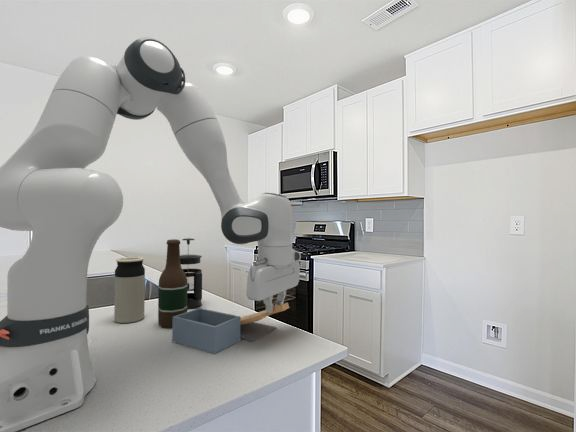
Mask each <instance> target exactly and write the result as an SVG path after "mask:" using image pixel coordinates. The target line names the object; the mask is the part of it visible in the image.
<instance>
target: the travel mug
mask: <svg viewBox="0 0 576 432" xmlns="http://www.w3.org/2000/svg"><path fill="white" fill-rule="evenodd" d="M144 260H145V258H144V257H140V256H130V257H129V256H125V257H119V258H116V259H115V262H116V265H117V266H116V268H115V270H114V312H113V314H114V319H113V320H114V322H116V323H119V324H131V323H132V324H133V323H136V322H139V321H141V320H143V319H144V318H145V297H146V296H145V292H146V291H145V290H146V289H145V287H146V284H145V279H146V269H145V267H144V265H143V264H144V263H143V262H144Z"/></svg>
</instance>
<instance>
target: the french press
mask: <svg viewBox="0 0 576 432" xmlns="http://www.w3.org/2000/svg"><path fill="white" fill-rule="evenodd" d="M195 240H196V239H195V238H190V237H187V238H183V239H181V241H186V245H187V254H180V263H181V265H182V266H183V265H185V266H186V265H187V268H182V269H183V271H184V272H185V274H186V277H187V311H188V310H195V309H198V308H201V307H202V305H203V303H202V299H203V270H202V269H200V268H189V265H196V264H200V263H201V258H202V257H203V256H202V255H198V254H190V244H191V241H195ZM189 278H193V283H192V284H191V283H189Z"/></svg>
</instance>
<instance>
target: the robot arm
mask: <svg viewBox="0 0 576 432" xmlns="http://www.w3.org/2000/svg"><path fill="white" fill-rule="evenodd" d="M156 110H157V111H159V112H160V114H162V115H163V116H164V118H166V120H167V121H168V123H169V126H170V128H171V130H172V134H173V135H174V138H175V140H176V141H177V143H178V145H179V147H180V148H181V149H180V150H182V152H183V153H184V155H185V156H186V158H187V159H188V161H189V162H190V163H191V165H193V166H194V168H195V169H196V170H197V171H198V172H199V173H200V174H201V176H203V178H204V179H205V181H206V182H207V184H208V185H209V188H210V189H211V192H212V194H213V196H214V198H215V200H216V201H215V202H216V203H217V204H218V207H219V209H220V213H221V222H220V223H221V225H220V227H221V232H222V235H223V236H224V238H225V239H226V240H228V241H229V242H231V243H232V244H235V245H246V244H249V243H253V242H257V260H254V261H253V262H252V264H251V266H249V267H250V268H249V271H248V274H247V281H246V291H245V294H246V295H245V296H246V298H247V299H248V300H250V301H253V302H255V301H256V302H260V301H263V304H264V305H265V310H266V312H267V313H272V312H274V311H275V309H274V308H275V306H277V305H281V304H284V303H285V302H284V301H285V298H286V296H287V290H290V289H292V288H294V287H297V286H298V285H299V282H300V277H301V276H300V273H301V272H300V271H301V270H300V269H301V266H300V260H301V258H302V255H301V252H300V251H297V250H295V249H293V241H292V231H293V209H292V203H291V201H290V200H289V198H288V197H286V196H285V195H282V194H279V193H275V192H274V193H273V192H264V193H261V194H260V195H259V196H258V197H256V198H254V199H251V200H249V201H248V202H247V201H246V202H245V203H244V202H243V200H242V198H241V197H240V195H239V191H238V190H237V188H236V186H235V183H234V181H233V179H232V176H231V174H230V170H229V164H228V157H227V155H228V153H227V145H226V140H225V137H224V134H223V130H222V128H221V126H220V122H219V121H218V119H217V116H216V114H215V111H214V110H213V109H212V106H211V105H210V103H209V101H208V99H207V98H206V96H205V95H204V93H203V92H202V91H201V89H200V88H199V87H198V86H197V85H196V84H193V83H192V82H188V81H187V82H186V73H185V70H184V69H183V68H182V67H181V64H180V62H179V60H178V59H177V57H176V55H175V54H174V53H173V52H172V50H171V49H170V48H169V47H168V46H167V45H165V44H164V43H163V42H161V41H160V40H157V39H155V38H153V37H149V36H145V37H144V36H143V37H139V38H136V40H134V41H132V42H131V43H130V44H129V45H128V46H127V48H126V49H125V51H124V54H123V56H122V57H121V58H120V61H119V62H118V64H117V65H116V64H114V65H112V64H108V63H107V62H106V61H104V60H102V59H100V58H97V57H95V56H89V55H83V56H78V57H76V58H74V59H73V60H71V61H70V63H69V64H68V65H67V66H66V68H65V69H64V70H63V72H62V73H61V74H60V76H59V77H58V79H57V80H56V82H55V85H54V86H53V88H52V91H51V93H50V95H49V98H48V100H47V102H46V104H45V106H44V108H43V111H42V113H41V115H40V117H39V120H38V121H37V123H36V125H35V127H34V128H33V130H32V132H31V133H30V135H28V137H27V139H25V141H24V142H23V143H22V144H21V145H20V146H19V147H18V148H17V149H16V151H15V152H14V153H13V154H12V155H11V156H10V157H8V159H7V160H6V161H5V162H4V163H3V164H2V165H1V166H0V228H2V229H6V230H11V231H17V232H19V231H20V232H33V233H32V237H31V240H30V243H29V246H28V248H27V250H26V251H25V253H24V255H23V256H22V257H21V258H19V259H18V260H16V261H15V262H14V263H13V264H12V265H11V266H10V267H9V269H8V271H7V275H6V276H7V277H6V278H7V289H6V295H7V298H6V299H7V301H6V302H7V306H6V308H7V309H6V312H7V314H6V315H5V317H3V319H1V320H0V432H18V431H20V430H24V429H26V428H28V427H32V426H33V425H36V424H39V423H42V422H43V421H46V420H47V421H48V420H49V419H51V418H54V417H55V418H56V417H57V416H60V415H62V414H65V413H67V412H68V413H69V412H70V411H72V410H75V409H77V408H79V407H81V406H82V405H83V403H84V401H85V397H86V395H87V394H88V393H89V392H90V391H91V390H92V389H93V388H94V387H95V384H96V382H97V378H96V374H95V371H94V368H93V366H92V361H91V355H90V350H89V348H90V347H89V342H88V334H89V331H90V306H89V305H88V304H87V288H88V287H87V285H88V284H87V283H88V272H89V271H88V270H89V269H88V268H89V264H90V259H91V257H92V252H93V250H94V248H95V246H96V244H97V242H98V241H99V239H100V238H101V236H102V235H103V234H104V232H105V231H106V230H107V229H108V228H110V227H111V226H112V225H113V224H115V222H116V221H118V219H119V217H120V216H121V214H122V212H123V207H124V206H123V205H124V195H123V193H122V188H121V187H120V185H119V183H118V182H117V181H116V179H115V178H114V177H113V176H112V175H110V174H107V173H105V172H101V171H96V170H92V169H88V168H87V167H88V166H90V165H91V164H93V163H95V162H96V161H98V160H99V159H100V158H101V157H102V156H103V155H104V154H105V151H106V149H107V145H108V143H109V139H110V136H111V133H112V130H113V127H114V124H115V121H116V118H117V115H119V116H121V117H124V118H126V119H129V120H135V121H137V120H144V119H146V118H147V117H150V116H151V115H152V114H153V113H154V112H155V111H156ZM275 295H276V300H275V301H274V304H273V301H272V300H274V299H273V298H274V296H275Z"/></svg>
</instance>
